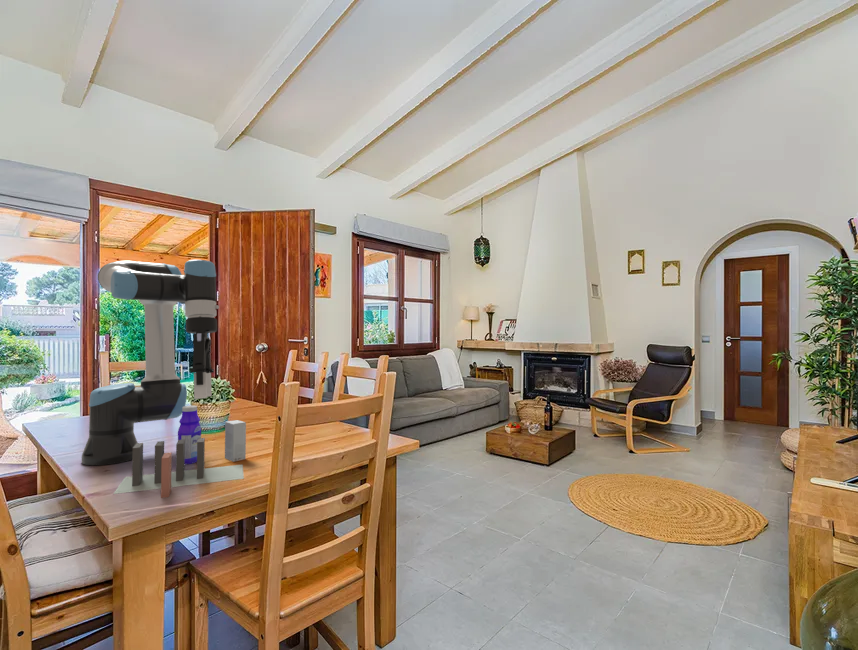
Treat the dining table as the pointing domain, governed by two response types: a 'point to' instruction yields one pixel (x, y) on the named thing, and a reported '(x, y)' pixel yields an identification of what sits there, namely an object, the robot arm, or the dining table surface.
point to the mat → (185, 478)
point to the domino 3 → (180, 460)
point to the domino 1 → (137, 464)
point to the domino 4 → (200, 457)
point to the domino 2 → (158, 461)
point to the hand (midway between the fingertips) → (203, 397)
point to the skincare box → (235, 440)
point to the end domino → (166, 475)
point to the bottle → (190, 432)
